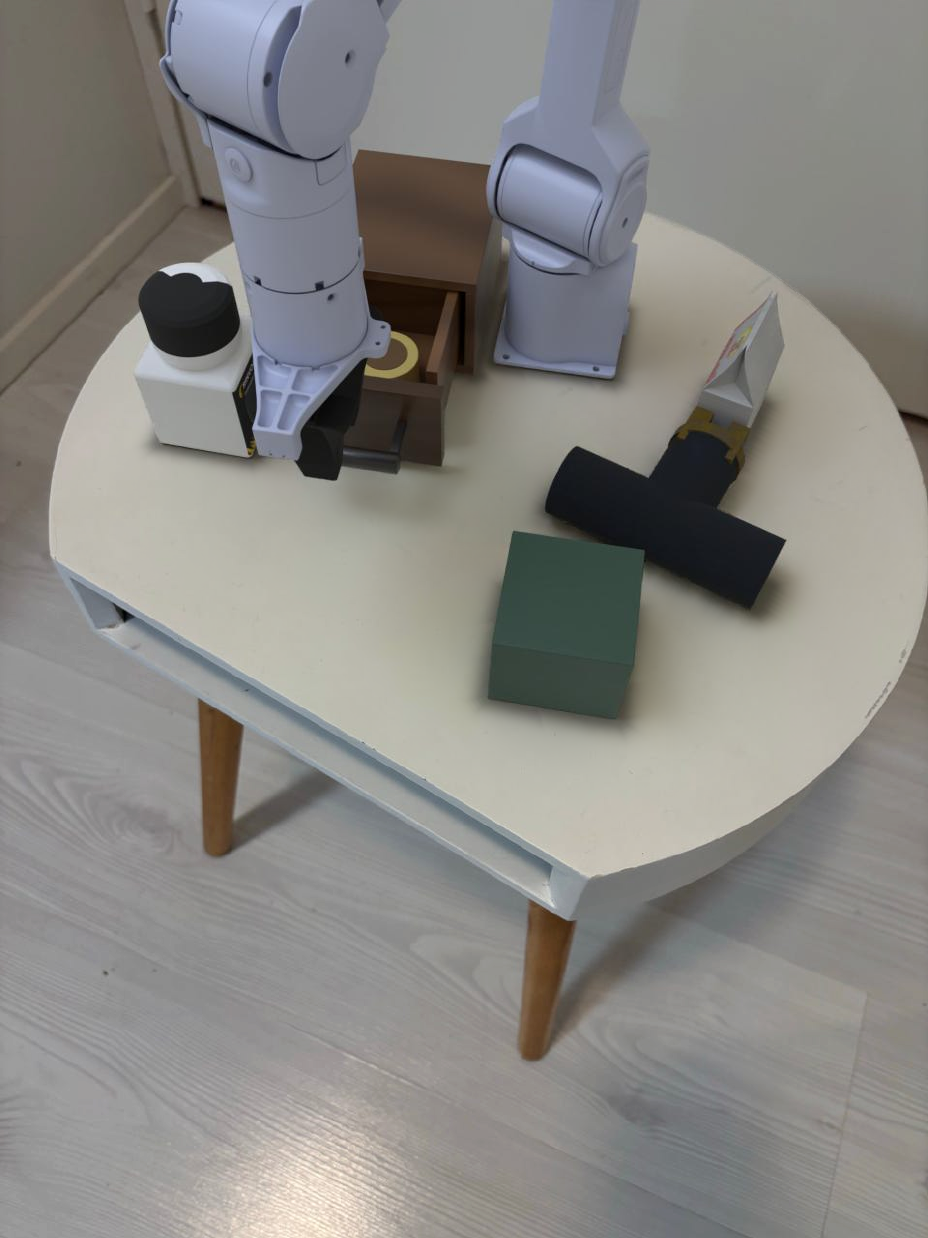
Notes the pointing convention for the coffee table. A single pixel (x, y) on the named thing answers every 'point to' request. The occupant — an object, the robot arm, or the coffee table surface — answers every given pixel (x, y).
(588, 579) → the block
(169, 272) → the medicine bottle
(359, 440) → the drawer
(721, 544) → the pipe connector
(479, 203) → the cabinet
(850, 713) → the coffee table surface
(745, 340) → the white juice carton
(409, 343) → the tape
